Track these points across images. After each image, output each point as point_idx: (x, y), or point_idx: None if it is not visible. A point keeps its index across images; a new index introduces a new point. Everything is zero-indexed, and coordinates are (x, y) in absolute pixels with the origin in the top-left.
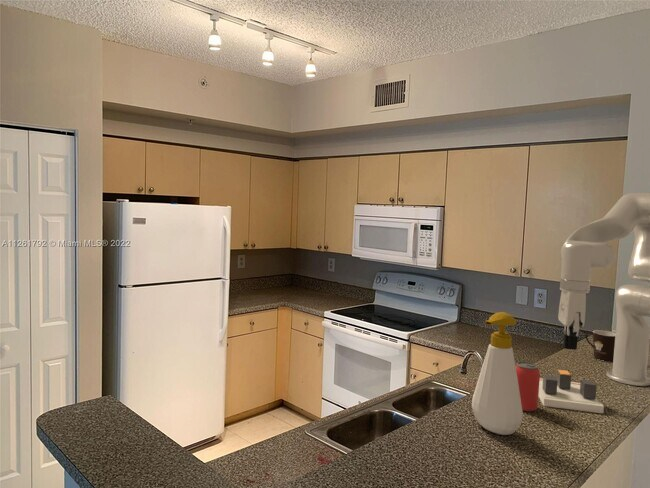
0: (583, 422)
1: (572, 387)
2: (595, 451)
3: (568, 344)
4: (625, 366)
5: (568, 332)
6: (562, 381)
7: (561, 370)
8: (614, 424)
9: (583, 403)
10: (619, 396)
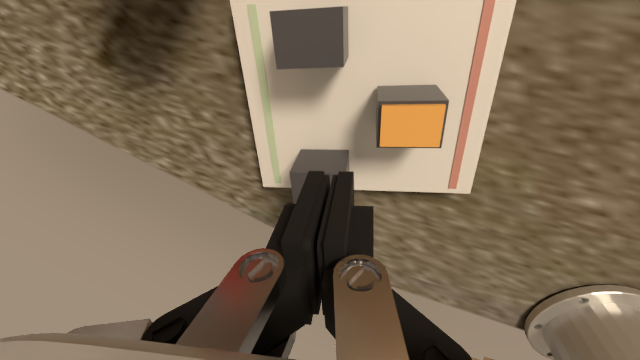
0: (174, 107)
1: None
2: (18, 92)
3: (287, 208)
4: (587, 353)
5: (223, 285)
6: (377, 104)
7: (437, 120)
8: (209, 179)
9: (256, 136)
10: (426, 254)
